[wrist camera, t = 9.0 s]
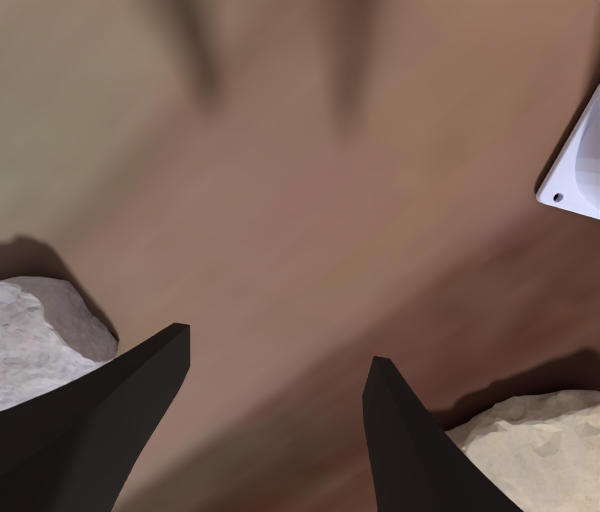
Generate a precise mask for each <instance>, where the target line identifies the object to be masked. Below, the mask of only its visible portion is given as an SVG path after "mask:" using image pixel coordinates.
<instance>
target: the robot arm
mask: <svg viewBox="0 0 600 512" xmlns="http://www.w3.org/2000/svg"><path fill="white" fill-rule="evenodd" d="M557 193H558V198H557V199H556V200H553V197H554V196H555V195H556V194H557ZM536 199H537V200H538V201H539V202H541V203H544V204H548V205H551V206H555V207H558V208H562V209H565V210H569V211H572V212H576V213H579V214H583V215H587V216H590V217H594V218H597V219H600V84H599V86H598V87H597V89H596V91H595V93H594V94H593V96H592V98H591V100H590V101H589V103H588V105H587V106H586V108H585V110H584V112H583V113H582V115H581V117H580V119H579V120H578V122H577V124H576V126H575V127H574V129H573V131H572V133H571V134H570V136H569V138H568V140H567V141H566V143H565V145H564V146H563V148H562V150H561V152H560V153H559V155H558V157H557V159H556V160H555V162H554V164H553V166H552V167H551V169H550V171H549V173H548V174H547V176H546V178H545V180H544V181H543V183H542V185H541V186H540V188H539V190H538V192H537V194H536ZM189 368H190V325H186V324H181V323H173V324H171V325H170V326H168V327H166V328H165V329H163V330H162V331H160V332H158V333H157V334H155V335H154V336H152V337H150V338H149V339H147V340H146V341H144V342H142V343H141V344H139V345H137V346H136V347H134V348H133V349H131V350H129V351H128V352H126V353H124V354H122V355H121V356H119V357H117V358H115V359H113V360H112V361H110V362H108V363H106V364H105V365H103V366H101V367H99V368H97V369H96V370H94V371H92V372H90V373H88V374H86V375H84V376H82V377H80V378H78V379H76V380H73V381H71V382H69V383H67V384H65V385H63V386H61V387H59V388H56V389H54V390H52V391H49V392H47V393H45V394H42V395H40V396H37V397H35V398H32V399H30V400H28V401H25V402H23V403H20V404H18V405H15V406H13V407H10V408H8V409H5V410H2V411H0V512H111V510H112V508H113V506H114V504H115V501H116V499H117V497H118V495H119V493H120V491H121V489H122V487H123V485H124V483H125V481H126V480H127V478H128V476H129V474H130V472H131V470H132V468H133V466H134V464H135V462H136V460H137V458H138V457H139V455H140V453H141V451H142V450H143V448H144V446H145V445H146V443H147V441H148V440H149V438H150V437H151V435H152V433H153V432H154V430H155V429H156V427H157V425H158V424H159V422H160V421H161V419H162V417H163V416H164V414H165V413H166V411H167V409H168V408H169V406H170V404H171V403H172V401H173V399H174V398H175V396H176V395H177V393H178V391H179V389H180V387H181V385H182V383H183V381H184V379H185V377H186V374H187V372H188V370H189ZM362 398H363V418H364V427H365V433H366V439H367V445H368V451H369V457H370V463H371V469H372V475H373V480H374V486H375V493H376V500H377V508H378V512H524V511H523V510H522V509H521V508H520V507H518V506H517V505H516V504H515V503H514V502H513V501H512V500H511V499H510V498H508V497H507V496H506V495H505V494H504V493H503V492H502V491H501V490H500V489H499V488H498V487H497V486H496V485H495V484H494V483H493V482H492V481H491V480H490V479H488V478H487V477H486V476H485V475H484V474H483V473H482V472H481V471H480V470H479V469H478V468H477V467H476V466H475V465H474V464H473V463H472V462H471V460H470V459H469V458H468V457H467V456H466V455H465V454H464V453H463V452H462V451H461V450H460V449H459V448H458V446H457V445H456V444H455V443H454V442H453V441H452V440H451V439H450V438H449V436H448V435H447V434H446V433H445V432H444V431H443V429H442V428H441V427H440V426H439V425H438V423H437V422H436V421H435V420H434V418H433V417H432V416H431V415H430V413H429V412H428V411H427V410H426V408H425V407H424V406H423V404H422V403H421V402H420V400H419V399H418V398H417V396H416V395H415V394H414V392H413V391H412V389H411V388H410V387H409V385H408V384H407V382H406V381H405V379H404V378H403V377H402V375H401V374H400V372H399V371H398V369H397V368H396V367H395V365H394V364H393V362H392V361H391V359H389V358H383V357H377V356H374V358H373V361H372V365H371V368H370V371H369V375H368V378H367V382H366V385H365V388H364V392H363V395H362Z"/></svg>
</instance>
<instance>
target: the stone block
mask: <svg viewBox="0 0 600 512" xmlns="http://www.w3.org/2000/svg"><path fill="white" fill-rule="evenodd" d="M117 346H118V341H117V340H116V339H115V338H114V337H113V336H112V335H111V333H110V332H109V331H108V328H107V327H106V326H104V325H103V324H102V323H101V322H100V321H99V320H98V319H97V318H96V317H95V316H93V315H92V314H91V313H90V311H89V310H88V309H87V307H86V305H85V303H84V301H83V299H82V297H81V296H80V294H79V293H78V292H77V291H76V289H75V288H74V286H73V285H72V284H71V283H70V282H68V281H65V280H58V279H54V278H47V277H30V276H20V277H13V278H9V279H5V280H1V281H0V411H2V410H5V409H8V408H10V407H13V406H15V405H18V404H20V403H23V402H25V401H28V400H30V399H32V398H35V397H37V396H40V395H42V394H45V393H47V392H49V391H52V390H54V389H56V388H59V387H61V386H63V385H65V384H67V383H69V382H71V381H73V380H76V379H78V378H80V377H82V376H84V375H86V374H88V373H90V372H92V371H94V370H96V369H97V368H99V367H101V366H103V365H105V364H106V363H108V362H110V361H112V360H113V359H114V358H115V356H116V353H117Z"/></svg>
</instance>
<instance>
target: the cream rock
mask: <svg viewBox="0 0 600 512" xmlns="http://www.w3.org/2000/svg"><path fill="white" fill-rule="evenodd" d="M444 432H445V433H446V434H447V435H448V436H449V438H450V439H451V440H452V441H453V442H454V443H455V444H456V445H457V446H458V448H459V449H460V450H461V451H462V452H463V453H464V454H465V455H466V456H467V457H468V458H469V459H470V460H471V462H472V463H473V464H474V465H475V466H476V467H477V468H478V469H479V470H480V471H481V472H482V473H483V474H484V475H485V476H486V477H487V478H488V479H490V480H491V481H492V482H493V483H494V484H495V485H496V486H497V487H498V488H499V489H500V490H501V491H502V492H503V493H504V494H505V495H506V496H507V497H508V498H510V499H511V500H512V501H513V502H514V503H515V504H516V505H517V506H518V507H520V508H521V509H522V510H523V511H524V512H600V392H599V391H595V390H562V391H557V392H553V393H548V394H541V395H525V396H520V397H516V396H514V397H511V398H509V399H507V400H505V401H503V402H500V403H495V405H494V406H493V407H492V408H490V409H488V410H486V411H484V412H482V413H480V414H478V415H477V416H475V417H473V418H472V419H471V420H470V421H469V422H467V423H466V424H462V425H460V426H458V427H456V428H454V429H452V430H449V431H444Z"/></svg>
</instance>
